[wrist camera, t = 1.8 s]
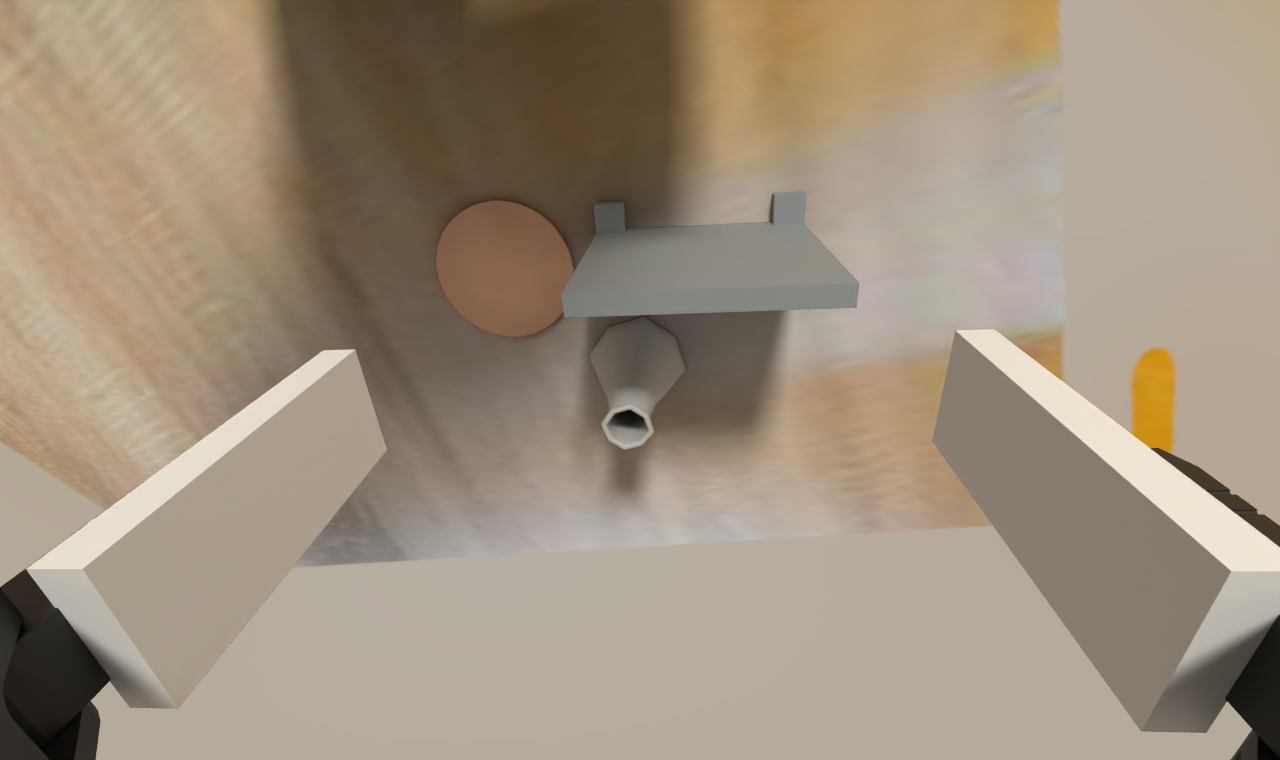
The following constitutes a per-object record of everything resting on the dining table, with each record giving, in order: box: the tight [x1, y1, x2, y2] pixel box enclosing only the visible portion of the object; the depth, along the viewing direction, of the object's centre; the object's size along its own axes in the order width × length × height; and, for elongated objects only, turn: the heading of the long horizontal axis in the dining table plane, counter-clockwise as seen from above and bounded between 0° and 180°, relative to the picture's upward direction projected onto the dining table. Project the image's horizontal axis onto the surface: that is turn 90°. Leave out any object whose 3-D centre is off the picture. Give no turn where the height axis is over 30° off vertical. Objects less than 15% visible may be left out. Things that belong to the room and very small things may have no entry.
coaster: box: [436, 200, 574, 337], centre depth 41 cm, size 10×10×1 cm
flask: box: [589, 317, 686, 451], centre depth 40 cm, size 7×7×10 cm
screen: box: [561, 192, 859, 318], centre depth 33 cm, size 5×14×14 cm, turn 94°
